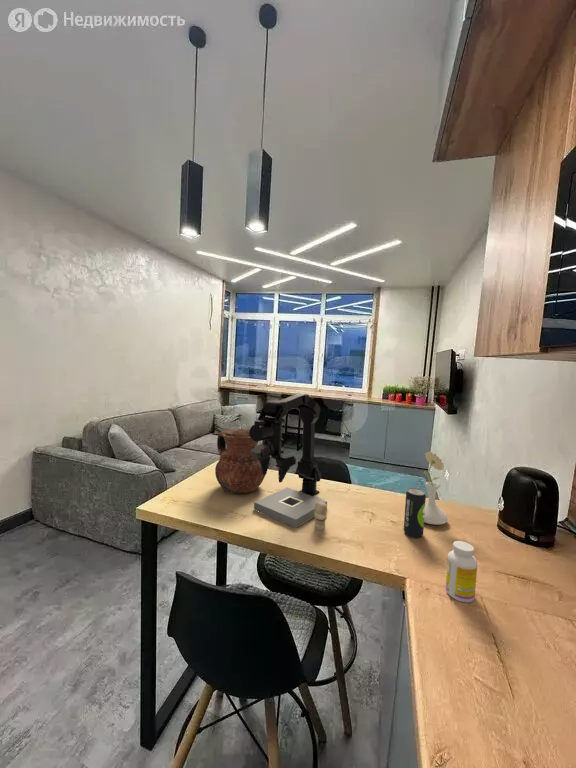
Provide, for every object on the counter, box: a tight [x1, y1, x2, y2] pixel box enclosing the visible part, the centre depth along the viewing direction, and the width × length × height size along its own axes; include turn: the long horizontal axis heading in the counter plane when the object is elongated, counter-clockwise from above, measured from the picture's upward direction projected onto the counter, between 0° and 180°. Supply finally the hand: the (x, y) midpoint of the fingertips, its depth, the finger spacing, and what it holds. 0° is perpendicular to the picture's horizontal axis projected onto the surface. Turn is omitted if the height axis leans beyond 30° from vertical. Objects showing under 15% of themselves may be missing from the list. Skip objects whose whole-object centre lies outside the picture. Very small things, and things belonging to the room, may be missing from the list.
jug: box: [214, 428, 266, 494], centre depth 148 cm, size 22×21×25 cm
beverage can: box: [403, 487, 427, 539], centre depth 114 cm, size 6×6×15 cm
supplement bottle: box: [445, 540, 478, 603], centre depth 85 cm, size 7×7×13 cm
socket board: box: [253, 487, 328, 529], centre depth 130 cm, size 20×20×3 cm
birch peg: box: [313, 503, 328, 531], centre depth 117 cm, size 4×4×8 cm
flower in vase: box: [422, 451, 448, 526], centre depth 125 cm, size 13×11×25 cm
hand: (272, 478), depth 122 cm, fingers open, 9 cm apart
